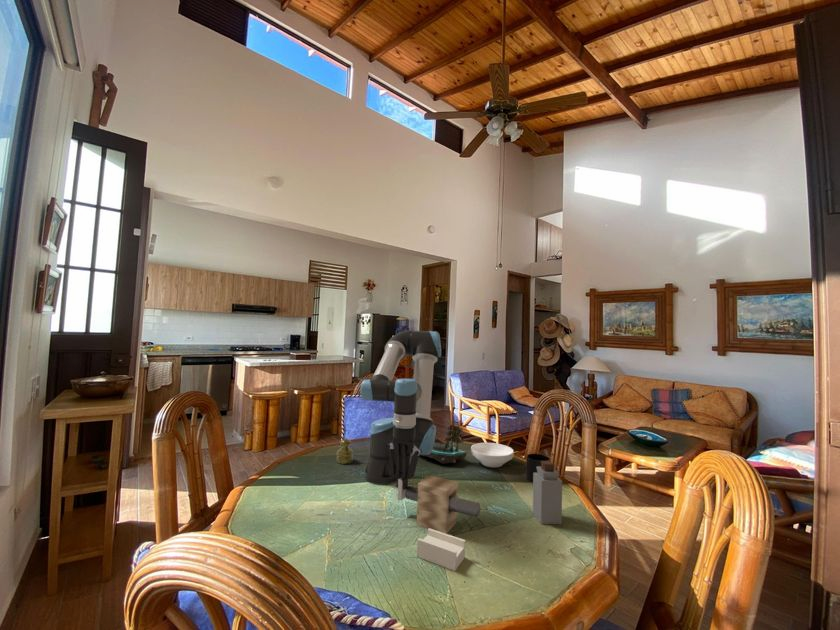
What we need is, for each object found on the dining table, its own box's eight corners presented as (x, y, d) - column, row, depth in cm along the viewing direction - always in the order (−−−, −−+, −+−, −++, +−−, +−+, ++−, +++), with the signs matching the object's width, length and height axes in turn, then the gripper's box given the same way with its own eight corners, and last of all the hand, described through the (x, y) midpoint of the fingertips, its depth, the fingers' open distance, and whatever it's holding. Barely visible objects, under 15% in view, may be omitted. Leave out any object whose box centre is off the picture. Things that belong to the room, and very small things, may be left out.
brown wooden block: (416, 524, 111) (417, 483, 112) (428, 513, 118) (429, 475, 119) (445, 534, 106) (447, 491, 107) (456, 522, 113) (457, 482, 114)
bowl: (488, 475, 152) (488, 458, 153) (462, 460, 170) (462, 445, 170) (522, 468, 161) (523, 452, 162) (494, 455, 179) (495, 440, 179)
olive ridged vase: (332, 462, 162) (333, 440, 162) (342, 457, 168) (343, 436, 169) (346, 465, 159) (347, 442, 159) (355, 460, 166) (356, 438, 166)
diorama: (449, 469, 157) (452, 424, 159) (406, 456, 173) (410, 415, 175) (471, 462, 171) (474, 421, 174) (430, 451, 187) (433, 413, 190)
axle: (404, 499, 116) (405, 486, 117) (410, 497, 119) (411, 484, 120) (475, 519, 105) (476, 504, 105) (479, 515, 108) (480, 501, 109)
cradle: (416, 556, 95) (417, 539, 95) (428, 544, 101) (429, 528, 101) (454, 571, 90) (455, 552, 90) (465, 557, 95) (465, 540, 96)
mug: (547, 488, 141) (548, 464, 142) (521, 478, 151) (522, 456, 151) (560, 482, 148) (560, 459, 148) (534, 473, 157) (534, 452, 157)
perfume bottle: (532, 513, 120) (533, 458, 121) (552, 513, 121) (552, 459, 122) (541, 524, 114) (541, 466, 115) (561, 523, 114) (562, 466, 115)
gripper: (382, 424, 120) (378, 497, 118) (415, 431, 113) (412, 508, 112) (394, 420, 126) (391, 489, 125) (426, 426, 120) (424, 499, 118)
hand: (401, 498), depth 118 cm, fingers closed
